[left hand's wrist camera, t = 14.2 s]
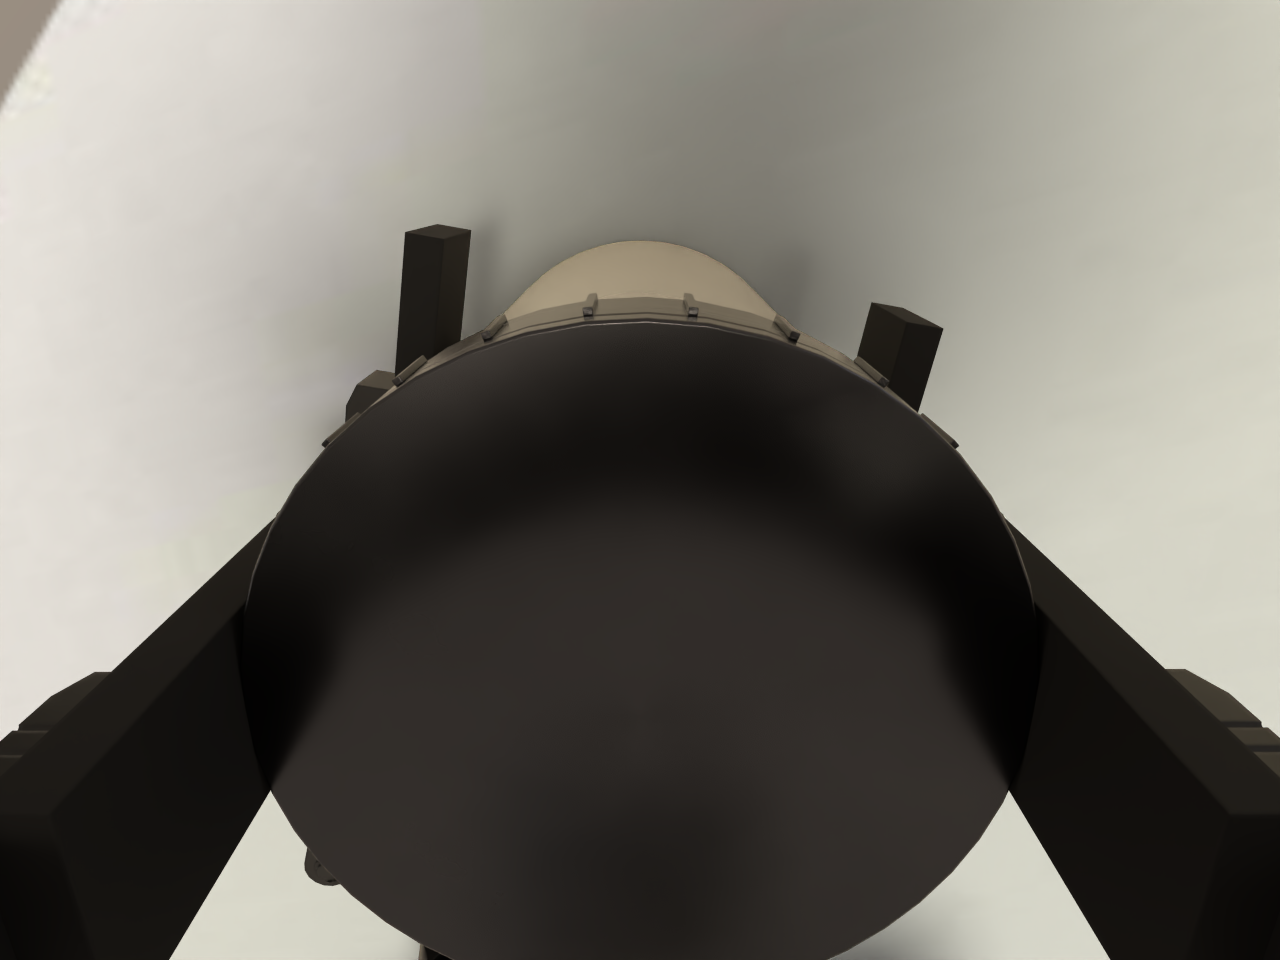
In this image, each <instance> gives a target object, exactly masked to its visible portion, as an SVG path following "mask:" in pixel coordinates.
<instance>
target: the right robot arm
mask: <svg viewBox="0 0 1280 960" xmlns="http://www.w3.org/2000/svg"><path fill="white" fill-rule="evenodd" d="M470 237H471V230H467V229H461V228H456V227H450V226H445V225H439V224H436V225H432V226H428V227H424V228H420V229H416V230H412V231H408V232H405V242H404V256H403V269H402V283H401V297H400V311H399V325H398V338H397V352H396V366H395V373H391V372H385V371H379V370H376V371H375V372H373V373H372V374H371V375H369V376H368V377H366V378H365V379H364V380H362V381H361V382H360V383H358V384H357V385H356V387H355V389H354V391H353V393H352V395H351V397H350V399H349V401H348V403H347V405H346V419H345V423H346V422H347V421H348V420H349V419H351V418H352V417H353V416H354V415H355V414H356V413H360V414H362V413H363V412H364V411H366V410H367V409H368V408H369V407H370V406H371V405H372V404H374V403H375V402H376V401H377V400H378V399H379V398H381V397H382V396H383V395H384V394H385V393H386V392H388V391H389V390H390V389H391V388H392V387H393V386H394V384H393V382H392V380H393V379H394V378H395V377H396V376H397V375H399V374H400V373H401V372H402V371H403V370H405V369H406V368H407V367H408V366H409V365H411V364H412V363H413V362H414V361H416V360H417V359H418V358H420V357H421V356H422V355H423V356H424V357H425V358H426V359H427V361H428V360H430V359H431V358H433V357H434V356H436V355H437V354H438V353H440V352H441V351H443V350H444V349H446V348H447V347H449V346H451V345H453V344H455V343H457V342H460V338H461V328H462V318H463V308H464V297H465V287H466V277H467V267H468V257H469V247H470ZM942 331H943V328H941V327H939V326H937V325H935V324H934V323H932V322H930V321H928V320H926V319H924V318H922V317H920V316H918V315H916V314H914V313H912V312H910V311H908V310H906V309H904V308H900V307H895V306H889V305H884V304H878V303H873V302H872V303H871V306H870V310H869V314H868V317H867V321H866V325H865V329H864V332H863V336H862V340H861V343H860V347H859V351H858V355H857V356H859V357H860V358H862V359H863V360H865V361H866V362H867V363H868V364H869V365H871V366H872V367H873V368H874V369H875V370H877V371H878V372H879V373H880V374H881V375H883V376H884V377H885V378H886V379H887V380H889V383H888V384H887V385H886V386H887V387H888V388H889V389H890V390H892V391H893V392H894V393H895V394H896V395H897V396H899V397H900V398H901V399H902V400H903V401H904V402H906V403H907V404H908V405H909V406H910V407H911V408H912V409H914V410H915V411H916V412H917V413H918V411H919V407H920V404H921V401H922V398H923V394H924V391H925V388H926V384H927V381H928V378H929V374H930V371H931V368H932V364H933V361H934V358H935V355H936V351H937V348H938V345H939V341H940V338H941V335H942ZM304 864H305V871H306V873H307V875H308V876H309V877H310V878H311V879H312V880H313V881H315V882H317V883H319V884H322V885H328V886H334V885H338V884H340V883H339V882H338V881H337V880H336V879H335V878H334V877H333V876H332V875H331V874H330V873H329V872H328V871H327V870H326V869H325V868H324V867H323V866H322V865H321V864H320V863H319V862H318V860H317V859H316V858H315V857H314V855H313V854H312V853H311V851H310V850H309V849H308V848H307V852H306V858H305V863H304ZM419 960H452V959H450V958H448V957H446V956H444V955H442V954H440V953H438V952H436V951H434V950H432V949H430V948H428V947H426V946H423V945H422V944H420V951H419Z"/></svg>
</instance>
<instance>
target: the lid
mask: <svg viewBox="0 0 1280 960" xmlns="http://www.w3.org/2000/svg"><path fill="white" fill-rule="evenodd" d="M392 382H393V384H394V386H393V387H392V388H391V389H390V390H389V391H388V392H386V393H385V394H384V395H383V396H382V397H381V398H379V399H378V400H377V401H376V402H375V403H374V404H372V405H371V406H370V407H369V408H368V409H367V410H366V411H364V412H363V413H362V414H360V413H356V414H355V415H354V416H353V417H352V418H351V419H349V420H348V421H347V422H346V423H345V424H343V425H342V426H341V427H340V428H339V429H337V430H336V431H335V432H334V433H333V434H332V435H330V436H329V437H328V438H327V439H326V440H325V441H324V442H323V443H322V446H324V447H325V449H324V450H323V452H322V453H321V454H320V455H319V457H318V458H317V459H316V460H315V461H314V463H313V464H312V465H311V466H310V468H309V469H308V470H307V471H306V472H305V474H304V475H303V476H302V477H301V479H300V480H299V481H298V482H297V484H296V485H295V486H294V488H293V490H292V492H291V493H290V495H289V497H288V498H287V500H286V502H285V504H284V505H283V507H282V509H281V510H280V511H279V512H278V513H277V515H276V517H275V521H274V522H273V524H272V526H271V528H270V530H269V532H268V535H267V537H266V540H265V542H264V545H263V548H262V550H261V553H260V555H259V558H258V560H257V563H256V566H255V568H254V571H253V573H252V578H251V582H250V587H249V592H248V596H247V601H246V605H245V610H244V615H243V620H242V638H241V656H240V672H241V682H242V691H243V697H244V703H245V708H246V713H247V718H248V723H249V728H250V732H251V737H252V742H253V746H254V750H255V753H256V756H257V758H258V761H259V763H260V765H261V768H262V770H263V773H264V775H265V777H266V780H267V782H268V785H269V787H270V789H271V792H272V794H273V796H274V797H275V799H276V801H277V802H278V804H279V806H280V807H281V809H282V811H283V812H284V814H285V816H286V818H287V819H288V821H289V823H290V824H291V826H292V828H293V829H294V831H295V832H296V834H297V835H298V836H299V837H300V839H301V840H302V841H303V842H304V844H305V845H306V846H307V848H308V849H309V850H310V851H311V853H312V854H313V855H314V857H315V858H316V859H317V860H318V862H319V863H320V864H321V865H322V866H323V867H324V868H325V869H326V870H327V871H328V872H329V873H330V874H331V875H332V876H333V877H334V878H335V879H336V880H337V881H338V882H339V883H340V884H341V885H342V886H343V887H344V888H345V889H346V890H347V891H348V892H349V893H350V894H351V895H352V896H353V897H354V898H356V899H357V900H358V901H360V902H361V903H362V904H363V905H365V906H366V907H367V908H368V909H370V910H371V911H372V912H374V913H375V914H376V915H377V916H379V917H380V918H381V919H382V920H384V921H385V922H386V923H388V924H390V925H391V926H393V927H394V928H396V929H398V930H399V931H401V932H402V933H404V934H406V935H407V936H409V937H410V938H412V939H414V940H415V941H417V942H418V943H420V944H422V945H423V946H426V947H428V948H430V949H432V950H434V951H436V952H438V953H440V954H442V955H444V956H446V957H448V958H450V959H452V960H827V959H830V958H832V957H834V956H836V955H839V954H841V953H843V952H845V951H847V950H849V949H851V948H853V947H854V946H856V945H858V944H859V943H861V942H863V941H864V940H866V939H868V938H870V937H871V936H873V935H875V934H876V933H878V932H880V931H882V930H883V929H885V928H886V927H888V926H889V925H890V924H892V923H893V922H894V921H896V920H897V919H899V918H900V917H901V916H903V915H904V914H905V913H907V912H908V911H909V910H911V909H912V908H913V907H915V906H916V905H917V904H919V903H920V902H921V901H922V900H923V899H924V898H925V897H926V896H928V895H929V894H930V893H931V892H932V891H933V890H934V889H935V888H936V887H937V886H938V885H939V884H940V883H941V882H942V881H944V880H945V879H946V878H947V877H948V876H949V875H950V874H951V873H952V872H953V871H954V870H955V868H956V867H957V866H958V865H959V864H960V862H961V861H962V860H963V859H964V858H965V856H966V855H967V854H968V853H969V852H970V850H971V849H972V848H973V847H974V846H975V844H976V843H977V842H978V841H979V840H980V838H981V836H982V835H983V833H984V832H985V830H986V829H987V827H988V825H989V824H990V822H991V821H992V819H993V818H994V816H995V814H996V813H997V811H998V810H999V808H1000V807H1001V805H1002V803H1003V801H1004V799H1005V797H1006V795H1007V793H1008V791H1009V788H1010V786H1011V784H1012V782H1013V780H1014V778H1015V775H1016V773H1017V771H1018V769H1019V767H1020V764H1021V762H1022V758H1023V755H1024V752H1025V748H1026V745H1027V741H1028V736H1029V732H1030V727H1031V723H1032V717H1033V712H1034V706H1035V701H1036V695H1037V690H1038V684H1039V630H1038V624H1037V618H1036V613H1035V607H1034V601H1033V596H1032V590H1031V585H1030V582H1029V579H1028V576H1027V573H1026V570H1025V567H1024V564H1023V561H1022V559H1021V556H1020V553H1019V550H1018V547H1017V544H1016V541H1015V539H1014V537H1013V535H1012V533H1011V531H1010V529H1009V527H1008V526H1007V524H1006V522H1005V521H1006V520H1005V518H1004V516H1003V514H1002V513H1001V512H1000V511H999V509H998V507H997V505H996V503H995V501H994V499H993V498H992V496H991V494H990V493H989V492H988V490H987V489H986V488H985V486H984V485H983V484H982V482H981V481H980V480H979V478H978V477H977V476H976V474H975V473H974V472H973V470H972V469H971V468H970V466H969V465H968V464H967V462H966V461H965V460H964V458H963V457H962V456H961V454H960V453H959V452H958V451H957V450H956V448H957V447H958V446H959V445H958V444H957V442H956V441H955V440H954V439H953V438H951V437H950V436H949V435H948V434H947V433H946V432H944V431H943V430H942V429H941V428H940V427H938V426H937V425H936V424H935V423H934V422H933V421H931V420H930V419H929V418H928V417H927V416H925V415H924V414H923V413H922V414H921V415H920V414H918V413H917V412H916V411H915V410H914V409H912V408H911V407H910V406H909V405H908V404H907V403H906V402H904V401H903V400H902V399H901V398H900V397H899V396H897V395H896V394H895V393H894V392H893V391H892V390H890V389H889V388H888V387H887V386H886V385H887V384H888V383H889V380H887V379H886V378H885V377H884V376H883V375H881V374H880V373H879V372H878V371H877V370H875V369H874V368H873V367H872V366H871V365H869V364H868V363H867V362H866V361H865V360H863V359H862V358H860V357H859V356H857V357H856V359H855V360H854V361H852V360H851V359H849V358H848V357H847V356H845V355H844V354H842V353H841V352H839V351H837V350H835V349H833V348H831V347H829V346H827V345H826V344H824V343H822V342H820V341H818V340H816V339H814V338H812V337H810V336H809V335H807V334H805V333H803V332H801V331H799V330H797V329H795V328H794V327H793V326H792V325H791V324H790V323H789V322H788V321H787V320H786V319H785V318H784V317H782V316H780V315H776V316H775V318H774V321H772V320H770V319H767V318H764V317H761V316H759V315H756V314H753V313H750V312H746V311H742V310H737V309H732V308H728V307H723V306H719V305H714V304H710V303H705V302H701V301H695V299H694V296H693V294H690V293H684V297H683V300H679V299H667V298H655V297H632V298H612V299H598V296H597V293H590V294H588V296H587V299H586V301H582V302H577V303H572V304H566V305H561V306H556V307H550V308H545V309H541V310H537V311H534V312H531V313H528V314H525V315H522V316H519V317H516V318H513V319H510V320H507V318H506V316H505V314H503V315H500V316H497V317H496V318H495V319H494V320H493V321H492V322H491V323H490V324H489V325H488V326H487V327H486V328H485V329H484V330H482V331H480V332H478V333H476V334H474V335H472V336H470V337H468V338H466V339H464V340H462V341H460V342H457V343H455V344H453V345H451V346H449V347H447V348H446V349H444V350H443V351H441V352H440V353H438V354H437V355H436V356H434V357H433V358H431V359H430V360H428V361H427V359H426V358H425V357H424V356H423V355H422V356H421V357H420V358H418V359H417V360H416V361H414V362H413V363H412V364H411V365H409V366H408V367H407V368H406V369H405V370H403V371H402V372H401V373H400V374H399V375H397V376H396V377H395V378H394V379H393V380H392Z"/></svg>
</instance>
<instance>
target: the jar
mask: <svg viewBox="0 0 1280 960" xmlns="http://www.w3.org/2000/svg"><path fill="white" fill-rule="evenodd" d="M590 293H597V296H598V299H612V298H632V297H655V298H667V299H679V300H683V297H684V293H690V294H693V296H694V299H695V301H701V302H705V303H710V304H714V305H719V306H723V307H728V308H732V309H737V310H742V311H746V312H750V313H753V314H756V315H759V316H761V317H764V318H767V319H770V320H772V321H774V318H775V316H776V315H778V314H777V313H776V312H775V311H774V310H773V309H772V308H771V307H770V306H769V305H768V304H767V303H766V302H765V301H764V300H763V299H762V298H761V297H760V296H759V295H758V294H757V293H756V292H755V291H754V290H753V289H752V288H751V287H750V286H749V285H748V284H747V283H746V282H745V281H744V280H743V279H742V278H741V277H740V276H739V275H737V274H736V273H734V272H733V271H732V270H730V269H729V268H728V267H726V266H725V265H723V264H722V263H720V262H718V261H716V260H714V259H712V258H711V257H709V256H707V255H705V254H703V253H700V252H697V251H695V250H692V249H689V248H687V247H683V246H679V245H674V244H670V243H665V242H656V241H644V240H641V241H622V242H616V243H611V244H606V245H601V246H598V247H595V248H592V249H589V250H586V251H583V252H580V253H578V254H576V255H574V256H572V257H570V258H568V259H566V260H564V261H562V262H560V263H559V264H558V265H556V266H555V267H553V268H552V269H550V270H549V271H547V272H546V273H544V274H543V275H542V276H541V277H540V278H539V279H538V280H537V281H536V282H534V283H533V284H532V285H531V286H530V287H529V288H528V289H527V290H526V291H525V292H524V293H523V294H522V295H521V296H520V297H519V298H518V299H517V300H516V301H515V302H514V303H513V304H512V305H511V306H510V307H509V308H508V309H507V310H506V311H505V312H504V313H503V314H505V316H506V318H507V320H510V319H513V318H516V317H519V316H522V315H525V314H528V313H531V312H534V311H537V310H541V309H545V308H550V307H556V306H561V305H566V304H572V303H577V302H582V301H586V299H587V296H588V294H590ZM503 314H502V315H503Z"/></svg>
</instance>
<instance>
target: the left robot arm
mask: <svg viewBox="0 0 1280 960" xmlns="http://www.w3.org/2000/svg"><path fill="white" fill-rule="evenodd" d="M1005 520H1006V519H1005ZM274 521H275V518H274V519H273V520H272V521H271V522H270V523H269V524H268V525H267V526H266V527H265V528H263V529H262V530H261V531H260V532H259V533H258V534H257V535H256V536H255V537H254V538H253V539H252V540H251V541H250V542H249V543H248V544H247V545H245V546H244V547H243V548H242V549H241V550H240V551H239V552H238V553H237V554H236V555H235V556H234V557H233V558H232V559H231V560H230V561H228V562H227V563H226V564H225V565H224V566H223V567H222V568H221V569H220V570H219V571H218V572H217V573H216V574H215V575H214V576H213V577H211V578H210V579H209V580H208V581H207V582H206V583H205V584H204V585H203V586H202V587H201V588H200V589H199V590H198V591H197V592H196V593H195V594H193V595H192V596H191V597H190V598H189V599H188V600H187V601H186V602H185V603H184V604H183V605H182V606H181V607H180V608H179V609H178V610H176V611H175V612H174V613H173V614H172V615H171V616H170V617H169V618H168V619H167V620H166V621H165V622H164V623H163V624H162V625H161V626H159V627H158V628H157V629H156V630H155V631H154V632H153V633H152V634H151V635H150V636H149V637H148V638H147V639H146V640H145V641H144V642H143V643H141V644H140V645H139V646H138V647H137V648H136V649H135V650H134V651H133V652H132V653H131V654H130V655H129V656H128V657H127V658H126V659H124V660H123V661H122V662H121V663H120V664H119V665H118V666H117V667H116V668H115V669H114V670H113V671H112V672H94V673H92V674H90V675H89V676H87V677H85V678H83V679H81V680H80V681H78V682H76V683H74V684H72V685H71V686H69V687H67V688H65V689H63V690H62V691H60V692H58V693H56V694H54V695H53V696H51V697H50V698H49V699H48V700H46V701H45V702H44V703H43V704H42V705H41V706H40V707H39V708H37V709H36V710H35V711H34V712H33V713H32V714H31V715H29V716H28V717H27V718H26V719H25V720H24V721H23V722H22V723H20V724H19V729H18V731H11V732H10V733H9V734H8V735H7V736H6V737H5V738H4V739H2V740H1V741H0V960H169V959H170V957H171V956H172V954H173V952H174V951H175V949H176V947H177V946H178V944H179V942H180V941H181V939H182V937H183V936H184V934H185V932H186V931H187V929H188V927H189V926H190V924H191V922H192V921H193V919H194V917H195V916H196V914H197V912H198V911H199V909H200V907H201V906H202V904H203V902H204V901H205V899H206V897H207V896H208V894H209V892H210V891H211V889H212V887H213V886H214V884H215V882H216V880H217V879H218V877H219V875H220V874H221V872H222V870H223V869H224V867H225V865H226V864H227V862H228V860H229V859H230V857H231V855H232V854H233V852H234V850H235V849H236V847H237V845H238V844H239V842H240V840H241V839H242V837H243V835H244V834H245V832H246V830H247V829H248V827H249V825H250V824H251V822H252V820H253V819H254V817H255V815H256V814H257V812H258V810H259V809H260V807H261V805H262V804H263V802H264V800H265V799H266V797H267V795H268V794H269V792H270V790H271V789H270V787H269V785H268V782H267V780H266V777H265V775H264V773H263V770H262V768H261V765H260V763H259V761H258V758H257V756H256V753H255V750H254V746H253V742H252V737H251V732H250V728H249V723H248V718H247V713H246V708H245V703H244V697H243V691H242V682H241V672H240V656H241V638H242V620H243V615H244V610H245V605H246V601H247V596H248V592H249V587H250V582H251V578H252V573H253V571H254V568H255V566H256V563H257V560H258V558H259V555H260V553H261V550H262V548H263V545H264V542H265V540H266V537H267V535H268V532H269V530H270V528H271V526H272V524H273V522H274ZM1005 522H1006V524H1007V526H1008V527H1009V529H1010V531H1011V533H1012V535H1013V537H1014V539H1015V541H1016V544H1017V547H1018V550H1019V553H1020V556H1021V559H1022V561H1023V564H1024V567H1025V570H1026V573H1027V576H1028V579H1029V582H1030V585H1031V590H1032V596H1033V601H1034V607H1035V613H1036V618H1037V624H1038V630H1039V684H1038V690H1037V695H1036V701H1035V706H1034V712H1033V717H1032V723H1031V727H1030V732H1029V736H1028V741H1027V745H1026V748H1025V752H1024V755H1023V758H1022V762H1021V764H1020V767H1019V769H1018V771H1017V773H1016V775H1015V778H1014V780H1013V782H1012V784H1011V786H1010V788H1009V791H1010V793H1011V794H1012V796H1013V798H1014V799H1015V801H1016V803H1017V804H1018V806H1019V808H1020V810H1021V811H1022V813H1023V815H1024V816H1025V818H1026V820H1027V821H1028V823H1029V825H1030V826H1031V828H1032V830H1033V831H1034V833H1035V835H1036V836H1037V838H1038V840H1039V841H1040V843H1041V845H1042V846H1043V848H1044V850H1045V851H1046V853H1047V855H1048V856H1049V858H1050V860H1051V861H1052V863H1053V865H1054V866H1055V868H1056V870H1057V871H1058V873H1059V875H1060V876H1061V878H1062V880H1063V881H1064V883H1065V885H1066V886H1067V888H1068V890H1069V891H1070V893H1071V895H1072V896H1073V898H1074V900H1075V901H1076V903H1077V905H1078V906H1079V908H1080V910H1081V911H1082V913H1083V915H1084V916H1085V918H1086V920H1087V921H1088V923H1089V925H1090V926H1091V928H1092V930H1093V931H1094V933H1095V935H1096V936H1097V938H1098V940H1099V941H1100V943H1101V945H1102V946H1103V948H1104V950H1105V951H1106V953H1107V955H1108V957H1109V958H1110V960H1280V738H1279V737H1278V736H1277V735H1276V734H1275V733H1274V732H1272V731H1271V730H1270V729H1269V728H1263V727H1262V725H1261V721H1260V720H1259V719H1258V718H1257V717H1255V716H1254V715H1253V714H1252V713H1251V712H1250V711H1249V710H1247V709H1246V708H1245V707H1244V706H1243V705H1242V704H1241V703H1240V702H1238V701H1237V700H1236V699H1235V698H1234V697H1233V696H1232V695H1230V694H1229V693H1228V692H1226V691H1224V690H1222V689H1220V688H1219V687H1217V686H1215V685H1213V684H1211V683H1209V682H1208V681H1206V680H1204V679H1202V678H1200V677H1199V676H1197V675H1195V674H1193V673H1191V672H1190V671H1188V670H1186V669H1165V668H1163V667H1162V666H1161V665H1160V664H1159V663H1158V662H1157V661H1156V660H1155V659H1154V658H1153V657H1152V656H1151V655H1150V654H1149V653H1148V652H1146V651H1145V650H1144V649H1143V648H1142V647H1141V646H1140V645H1139V644H1138V643H1137V642H1136V641H1135V640H1134V639H1133V638H1132V637H1131V636H1130V635H1128V634H1127V633H1126V632H1125V631H1124V630H1123V629H1122V628H1121V627H1120V626H1119V625H1118V624H1117V623H1116V622H1115V621H1114V620H1113V619H1111V618H1110V617H1109V616H1108V615H1107V614H1106V613H1105V612H1104V611H1103V610H1102V609H1101V608H1100V607H1099V606H1098V605H1097V604H1096V603H1095V602H1093V601H1092V600H1091V599H1090V598H1089V597H1088V596H1087V595H1086V594H1085V593H1084V592H1083V591H1082V590H1081V589H1080V588H1079V587H1078V586H1076V585H1075V584H1074V583H1073V582H1072V581H1071V580H1070V579H1069V578H1068V577H1067V576H1066V575H1065V574H1064V573H1063V572H1062V571H1061V570H1059V569H1058V568H1057V567H1056V566H1055V565H1054V564H1053V563H1052V562H1051V561H1050V560H1049V559H1048V558H1047V557H1046V556H1045V555H1044V554H1043V553H1041V552H1040V551H1039V550H1038V549H1037V548H1036V547H1035V546H1034V545H1033V544H1032V543H1031V542H1030V541H1029V540H1028V539H1027V538H1026V537H1024V536H1023V535H1022V534H1021V533H1020V532H1019V531H1018V530H1017V529H1016V528H1015V527H1014V526H1013V525H1012V524H1011V523H1010V522H1009V521H1008V520H1006V521H1005Z"/></svg>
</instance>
